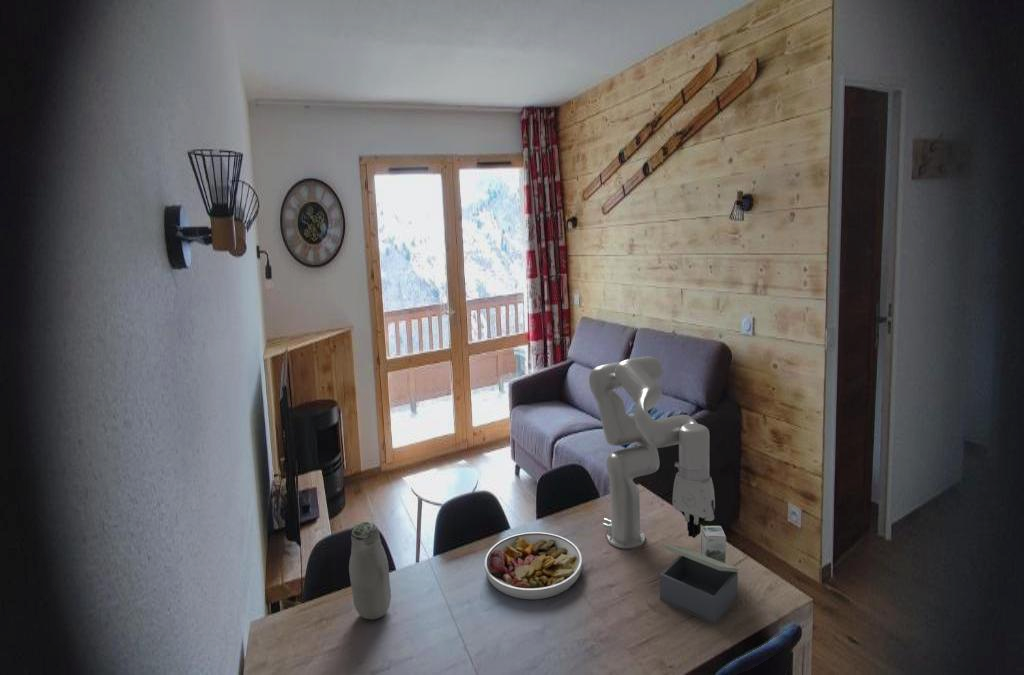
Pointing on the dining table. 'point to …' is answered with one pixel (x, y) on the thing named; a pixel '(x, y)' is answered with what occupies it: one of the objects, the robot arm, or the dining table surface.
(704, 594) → the storage box
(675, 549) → the lid
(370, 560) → the grey rounded cylinder
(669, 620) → the dining table surface
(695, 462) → the robot arm
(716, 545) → the syrup box
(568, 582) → the bowl
